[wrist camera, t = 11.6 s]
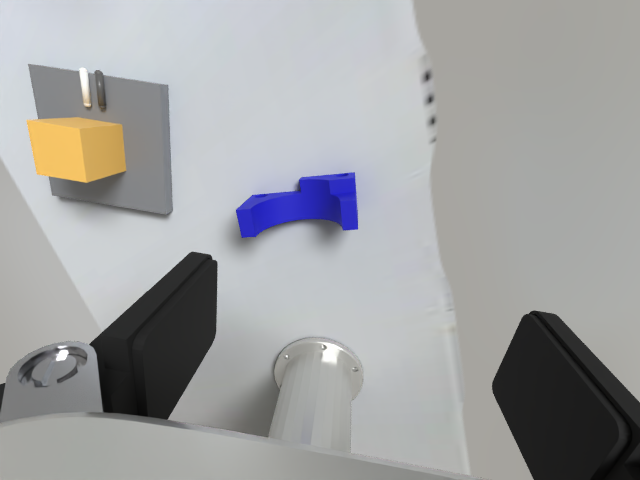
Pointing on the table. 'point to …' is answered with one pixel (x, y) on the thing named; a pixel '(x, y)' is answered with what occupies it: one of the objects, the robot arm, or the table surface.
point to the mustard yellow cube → (77, 148)
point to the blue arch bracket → (303, 204)
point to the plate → (138, 133)
